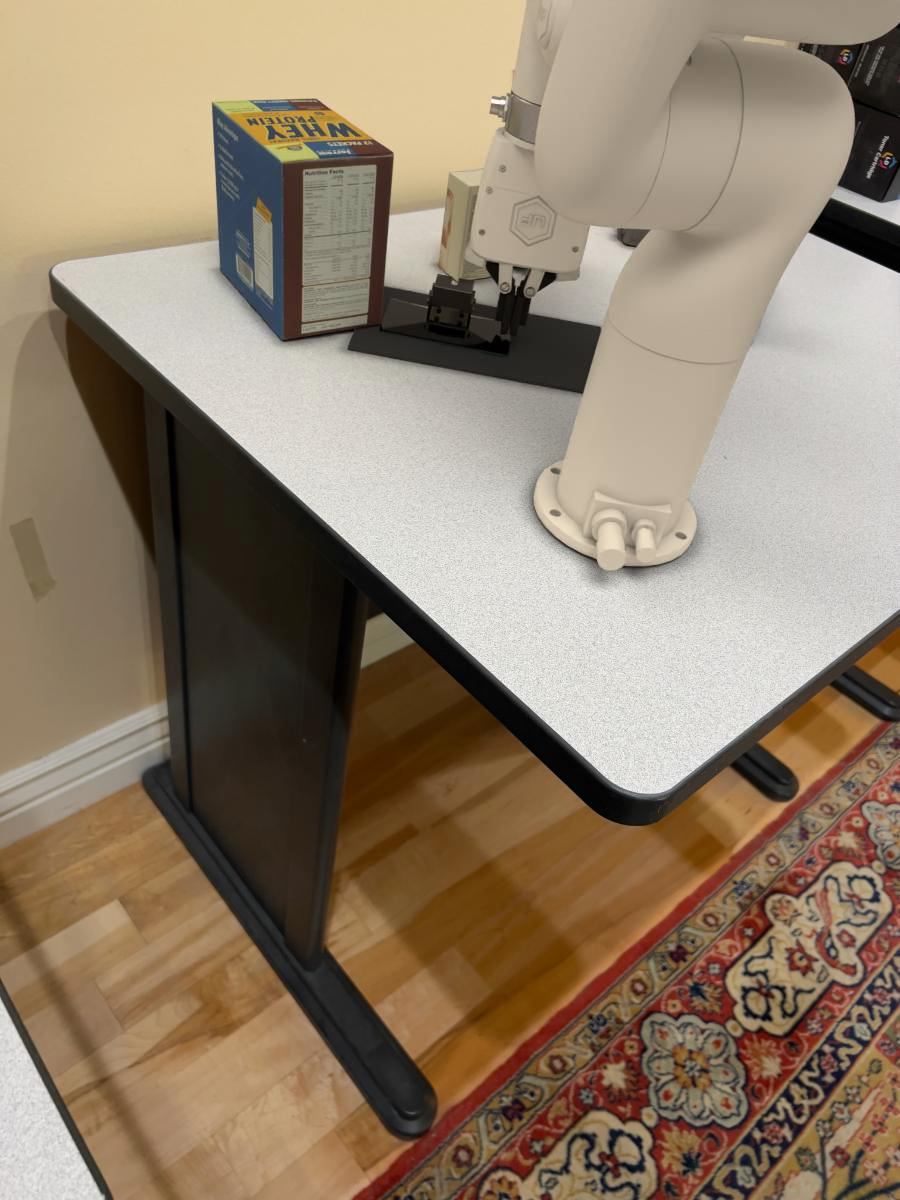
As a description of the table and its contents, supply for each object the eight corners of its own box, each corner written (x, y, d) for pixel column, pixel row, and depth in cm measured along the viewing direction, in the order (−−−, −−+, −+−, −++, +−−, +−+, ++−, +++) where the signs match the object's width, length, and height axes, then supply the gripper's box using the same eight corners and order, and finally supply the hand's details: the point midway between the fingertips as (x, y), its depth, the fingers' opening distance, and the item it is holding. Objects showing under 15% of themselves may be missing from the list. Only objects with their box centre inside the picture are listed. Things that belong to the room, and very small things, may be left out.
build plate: (511, 325, 89) (521, 281, 86) (507, 359, 84) (517, 313, 81) (390, 300, 89) (395, 255, 86) (378, 333, 83) (383, 286, 80)
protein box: (312, 259, 93) (316, 96, 83) (383, 326, 85) (397, 152, 74) (217, 270, 89) (208, 98, 78) (280, 342, 80) (281, 159, 69)
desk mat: (604, 397, 82) (605, 394, 82) (347, 349, 81) (347, 346, 81) (600, 329, 92) (600, 326, 92) (372, 286, 91) (372, 283, 91)
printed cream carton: (473, 260, 100) (488, 166, 93) (494, 277, 97) (512, 182, 91) (434, 265, 97) (447, 169, 91) (455, 282, 95) (470, 185, 88)
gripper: (458, 118, 70) (428, 333, 82) (643, 153, 71) (585, 361, 83) (464, 94, 76) (435, 299, 88) (636, 127, 76) (582, 325, 89)
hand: (508, 329), depth 85 cm, fingers closed
